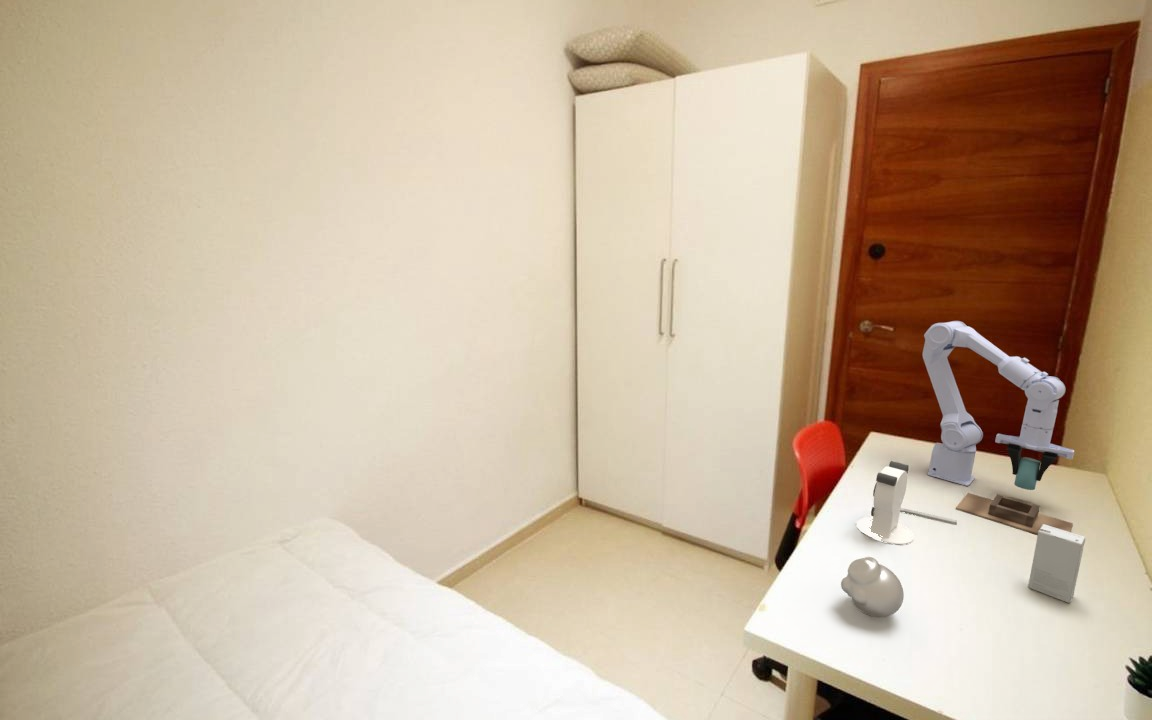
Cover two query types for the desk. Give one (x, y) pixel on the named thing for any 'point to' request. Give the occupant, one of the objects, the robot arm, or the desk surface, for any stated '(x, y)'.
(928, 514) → the light grey rod
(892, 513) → the white tall piece
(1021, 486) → the teal peg
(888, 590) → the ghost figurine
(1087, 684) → the desk surface
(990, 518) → the peg stand
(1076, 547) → the skincare box
